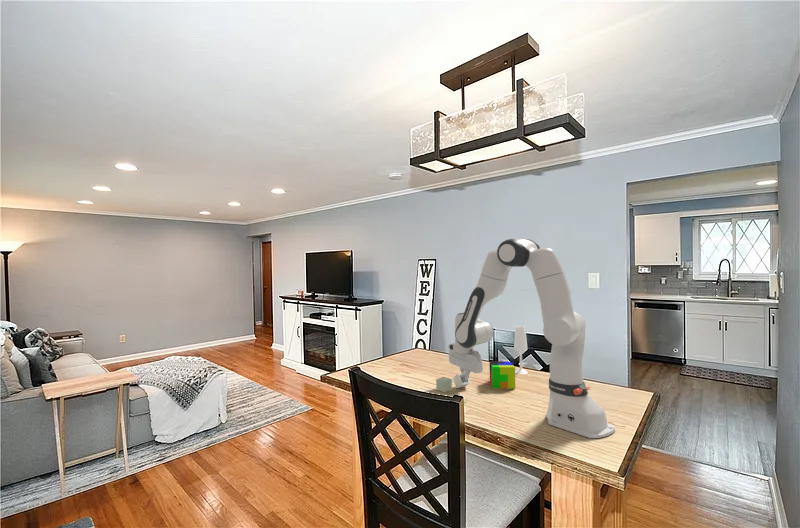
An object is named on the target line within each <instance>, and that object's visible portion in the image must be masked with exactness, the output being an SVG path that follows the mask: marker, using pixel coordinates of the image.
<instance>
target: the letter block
mask: <svg viewBox="0 0 800 528" xmlns="http://www.w3.org/2000/svg"><path fill="white" fill-rule="evenodd" d="M452 381H453V384H454V386H455V389H456V388H458V389H461V387H462V388H466V387H467V386H469V385H470V384H471V381H470V378H469V379H465V378H463V377H462V373H461V372H460V373H458V374H456V375H455V376H453V377H452ZM465 386H466V387H465Z"/></svg>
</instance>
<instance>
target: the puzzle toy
mask: <svg viewBox="0 0 800 528" xmlns="http://www.w3.org/2000/svg"><path fill="white" fill-rule="evenodd" d="M515 371H516V367H515V366H514V364H513V362H511V361H508V360H507V361H503V360H501V361H500V360H499V361H498V360H497V361H496V360H495V361H489V382H490V385H491V388H492V389H493V388H503V389H502V390H506V389H505V388H510V389H509V390H515V389H516V373H515ZM512 388H513V389H512ZM514 388H515V389H514Z"/></svg>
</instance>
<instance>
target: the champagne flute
mask: <svg viewBox="0 0 800 528" xmlns="http://www.w3.org/2000/svg"><path fill="white" fill-rule="evenodd" d="M514 329H515V331H514V344H513V345H514V346H513V349H514V350H515V351H516V353H518V354H519V368H518V369H515V374H518V375H527V374H528V371H527V370H525V369H523V354H525V352H526V351H527V350H528V342H527V334H526V327H525V326H524V325H515V328H514Z"/></svg>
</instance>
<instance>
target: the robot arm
mask: <svg viewBox="0 0 800 528" xmlns="http://www.w3.org/2000/svg"><path fill="white" fill-rule="evenodd" d="M514 267H516V268H517V267H519V268H520V267H521V268H522V267H527V269H529V271H530V272H531V276H532V279H533V283H534V286H535V289H536V292H537V294H538V297H539V303H540V310H541V316H542V318H541V319H542V323H543V329H542V330H543V335H544V338H545V339H546V340H547V341H548V343H550V344H552V345H551V351H550V355H549V377H548V378H549V379H548V389H549V397H548V399H549V400H548V406H547V411H546V414H545V418H546V419H547V424H548V425H550V426H553V427H557V428H559V429H562V430H565V431H568V432H571V433H573V434H577V435H580V436H582V437H586V438H588V439H599V438H600V439H601V438H604V437H608V436H611V435H612V434H614V432H615V431H616V427H615V425H613V424H611V423H609V422H608V419H607V414H606V411H605V410H604V409H603V407H602V406H600V405H599V404H598V402H596V400H595V399H594V398H592V396H590V394H589V392H588V391H589V390H591V386H586V383H585V381H584V366H583V365H584V351H585V341H586V340H585V339H586V320H585V319H584V317H583V315H581V314H580V313H578V312H576V311H574V308H573V302H572V292H571V290H570V286H569V283H568V280H567V278H566V273H565V271H564V268H563V265H562V264H561V261H560V260H559V257H558V256H557V254H556V252H555V251H554V250H553V249H552V248H549V247H540V245H539V244H538V243H537V242H536V241H534V240H531V239H524V238H521V237H520V238H509V239H506V240H504V241H502V242H501V243H500V244H499V245H498V246H497V249H494V250H491V251H490V252H488V254H487V255H486V258H485V260H484V263H483V265H482V268H481V272H480V276H479V278H478V281H477V284H476V286H475V287H474V288H473V290H472V292H471V294H470V296H469V298H468V302H467V303H466V307H465V310H464V312H459V313H457V314H455V315H456V316H455V320H454V338H455V339H454V343H449V344H448V361H449V363H450V365H453V366H456V367H458V368H459V371H460V374H461V373H462V377H463V378H465V379H469V380H470V374H471V373H474V374H480V373H483V370H484V368H483V366H484V365H483V361H482V356H481V354H480V353H479V351H478V350H475V349H476V347H475V346H478V345H482V344H486V343H488V342H490V341H491V340H492V339H493V337H494V328H493V326H492V324H490V323H489V322H488V321H487V320H486V321H485V320H482V319H480V318H479V317H480V314H481V312H482V309H483V308H484V307H485V305H486V304H488V303H489V302H490V301H492V300H494V299H496V298H498V297H499V296H501V295H502V294H503V292H504V290H505V289H506V286H507V282H508V279H509V274H510V272H511V269H512V268H514Z"/></svg>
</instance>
